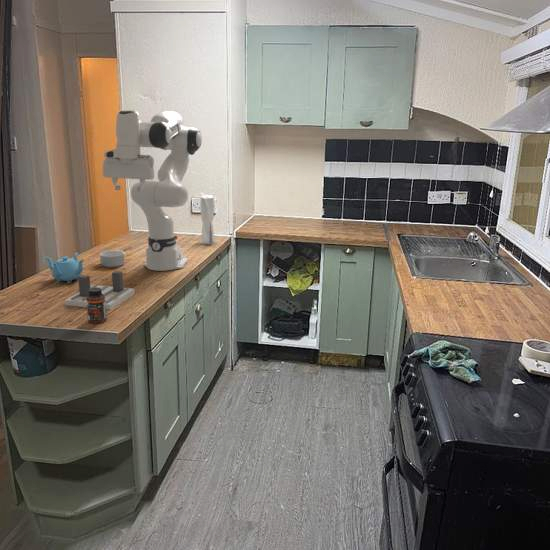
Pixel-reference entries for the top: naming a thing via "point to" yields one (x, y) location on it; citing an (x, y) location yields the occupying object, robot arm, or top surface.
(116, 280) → the switch tab
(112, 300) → the white board with strips
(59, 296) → the top surface
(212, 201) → the skyscraper
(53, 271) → the teapot
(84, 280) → the switch tab
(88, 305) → the supplement bottle
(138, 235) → the top surface
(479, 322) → the top surface
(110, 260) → the saucepan
